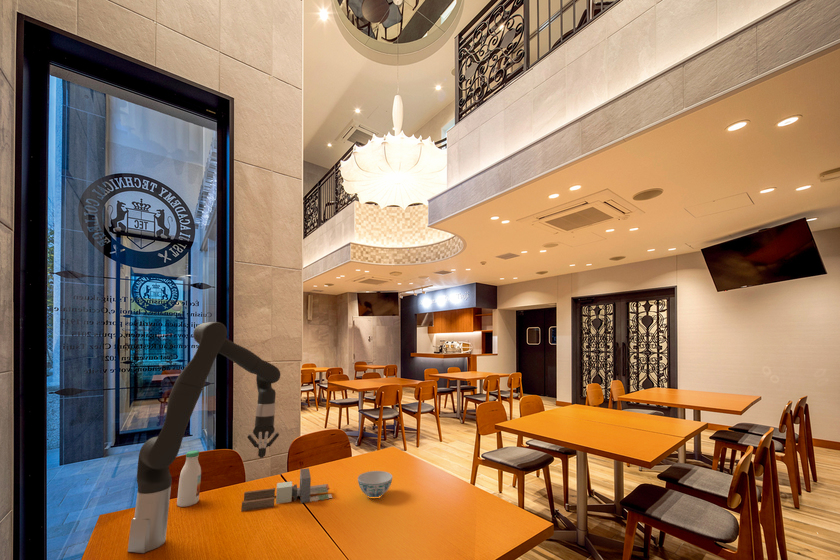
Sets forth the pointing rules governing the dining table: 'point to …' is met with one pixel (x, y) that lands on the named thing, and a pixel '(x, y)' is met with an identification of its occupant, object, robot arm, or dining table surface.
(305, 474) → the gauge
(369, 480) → the chinaware
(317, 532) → the dining table surface
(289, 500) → the block
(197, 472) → the milk bottle
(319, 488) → the plunger
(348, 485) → the dining table surface
